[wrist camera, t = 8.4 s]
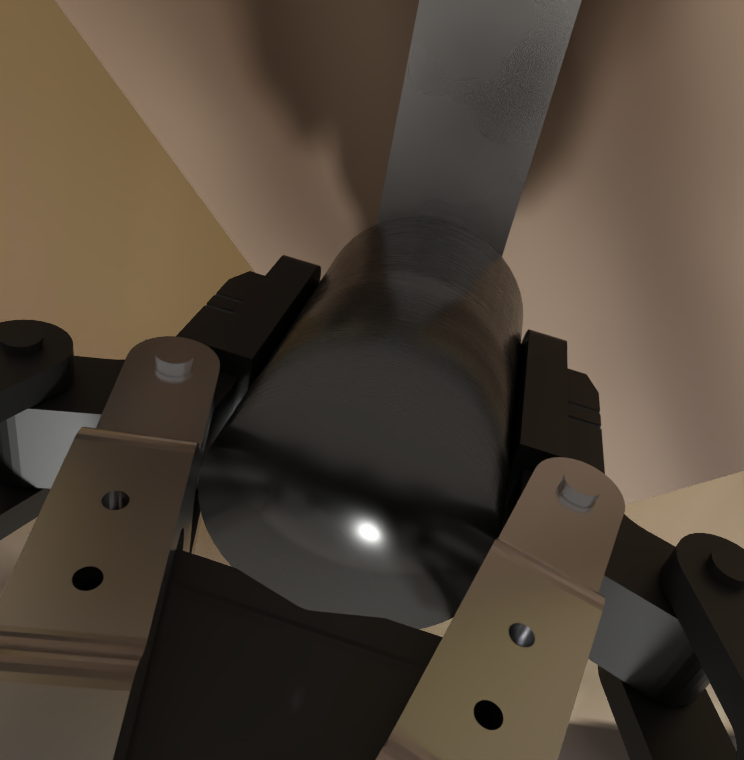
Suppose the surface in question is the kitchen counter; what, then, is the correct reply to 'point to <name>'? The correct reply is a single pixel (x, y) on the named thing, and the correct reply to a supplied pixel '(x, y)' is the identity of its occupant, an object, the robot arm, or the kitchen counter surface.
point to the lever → (402, 347)
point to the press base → (538, 199)
